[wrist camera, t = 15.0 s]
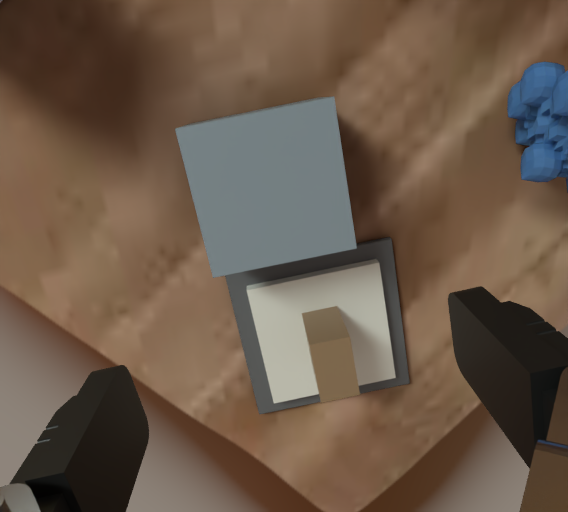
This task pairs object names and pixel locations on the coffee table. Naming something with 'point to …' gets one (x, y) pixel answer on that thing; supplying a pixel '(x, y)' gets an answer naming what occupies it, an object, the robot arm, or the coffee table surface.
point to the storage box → (269, 185)
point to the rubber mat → (364, 252)
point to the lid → (323, 332)
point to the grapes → (542, 121)
